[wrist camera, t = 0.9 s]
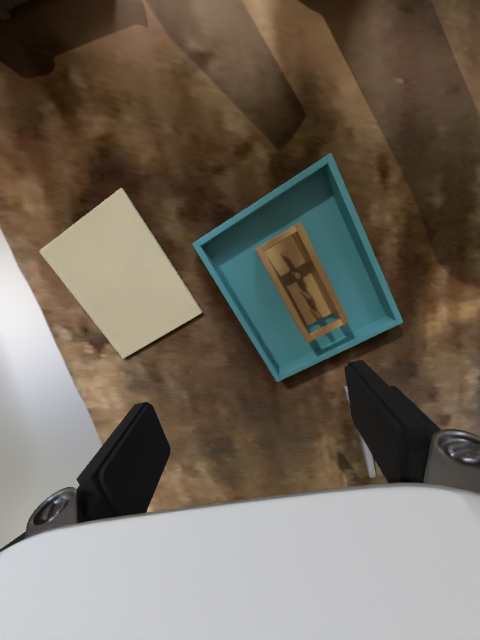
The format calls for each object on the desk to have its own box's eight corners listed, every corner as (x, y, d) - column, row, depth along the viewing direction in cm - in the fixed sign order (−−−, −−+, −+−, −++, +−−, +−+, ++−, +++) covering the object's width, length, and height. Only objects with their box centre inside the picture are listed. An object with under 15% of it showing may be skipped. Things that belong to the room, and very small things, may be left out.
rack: (293, 225, 31) (300, 221, 27) (336, 312, 34) (349, 322, 30) (254, 249, 32) (255, 249, 28) (299, 331, 36) (307, 343, 31)
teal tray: (324, 161, 29) (331, 152, 27) (392, 317, 34) (403, 322, 32) (196, 244, 33) (191, 243, 30) (275, 373, 38) (276, 382, 36)
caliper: (341, 384, 38) (358, 409, 32) (348, 382, 38) (366, 407, 32) (368, 475, 43) (386, 512, 37) (374, 474, 43) (393, 510, 37)
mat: (123, 188, 31) (121, 187, 31) (203, 312, 36) (202, 312, 35) (41, 251, 34) (38, 251, 34) (124, 357, 39) (122, 359, 38)
